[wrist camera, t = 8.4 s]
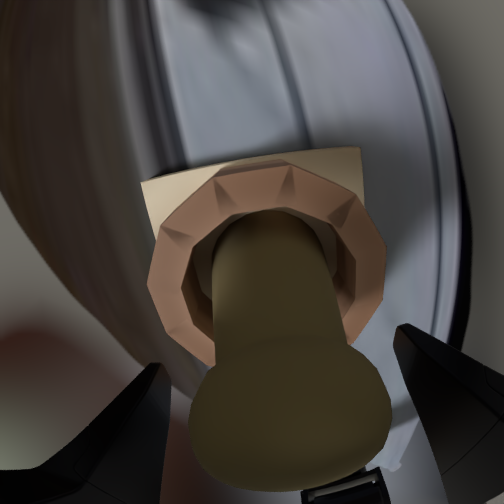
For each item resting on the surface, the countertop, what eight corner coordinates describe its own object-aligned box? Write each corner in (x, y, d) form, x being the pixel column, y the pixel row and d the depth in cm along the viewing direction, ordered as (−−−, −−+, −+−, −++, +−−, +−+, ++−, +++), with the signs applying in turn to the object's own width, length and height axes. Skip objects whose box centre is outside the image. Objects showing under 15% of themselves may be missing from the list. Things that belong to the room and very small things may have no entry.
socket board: (355, 314, 17) (376, 356, 14) (197, 338, 18) (188, 384, 14) (351, 146, 13) (389, 151, 9) (148, 178, 13) (114, 195, 10)
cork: (222, 197, 13) (153, 404, 3) (339, 225, 13) (474, 399, 3) (203, 300, 15) (164, 494, 5) (303, 318, 16) (347, 497, 6)
